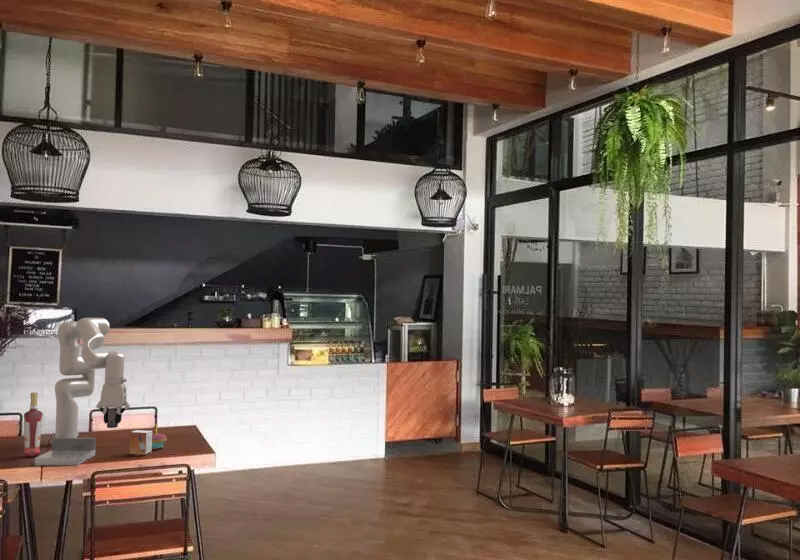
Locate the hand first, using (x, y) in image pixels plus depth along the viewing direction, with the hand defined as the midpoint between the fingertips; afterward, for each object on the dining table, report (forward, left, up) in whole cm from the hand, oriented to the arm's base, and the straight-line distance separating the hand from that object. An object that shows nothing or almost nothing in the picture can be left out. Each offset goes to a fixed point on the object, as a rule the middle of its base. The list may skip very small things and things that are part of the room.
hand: (112, 422), depth 294 cm
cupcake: (-23, +13, -16) cm, 31 cm away
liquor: (-7, -37, -16) cm, 41 cm away
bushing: (0, 0, -2) cm, 2 cm away
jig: (+1, -19, -16) cm, 25 cm away
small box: (-11, +9, -16) cm, 22 cm away
